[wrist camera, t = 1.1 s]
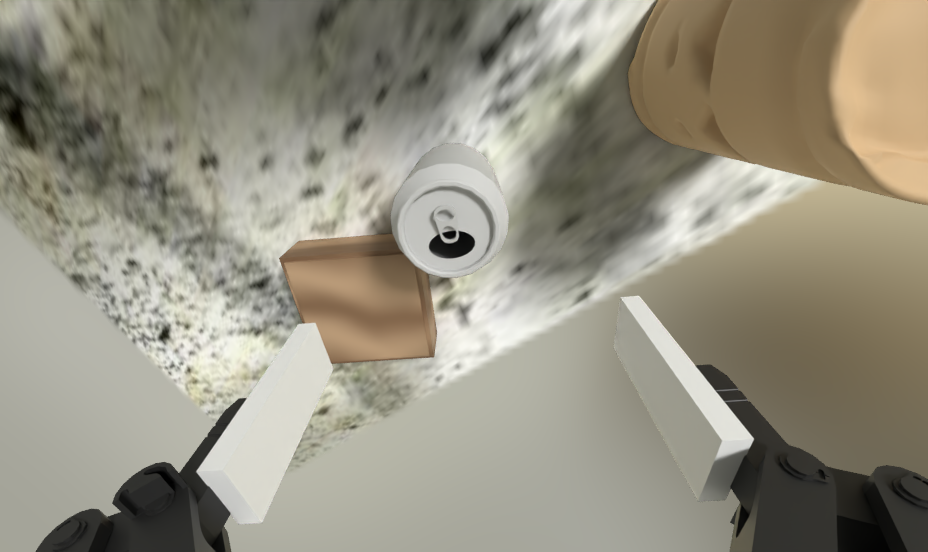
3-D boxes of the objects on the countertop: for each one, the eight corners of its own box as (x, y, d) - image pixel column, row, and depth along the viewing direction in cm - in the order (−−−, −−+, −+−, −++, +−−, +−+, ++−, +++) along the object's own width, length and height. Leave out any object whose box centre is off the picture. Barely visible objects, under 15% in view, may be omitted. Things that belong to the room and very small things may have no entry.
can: (422, 231, 33) (401, 296, 23) (403, 149, 30) (369, 180, 19) (500, 219, 33) (517, 280, 22) (490, 134, 29) (505, 158, 19)
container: (614, 148, 30) (787, 211, 14) (645, -46, 24) (1009, -329, 8) (764, 143, 29) (1118, 201, 13) (832, -54, 24) (1599, -363, 8)
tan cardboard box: (298, 241, 34) (277, 259, 30) (421, 231, 33) (416, 248, 29) (331, 340, 39) (316, 366, 35) (436, 333, 39) (433, 358, 35)
